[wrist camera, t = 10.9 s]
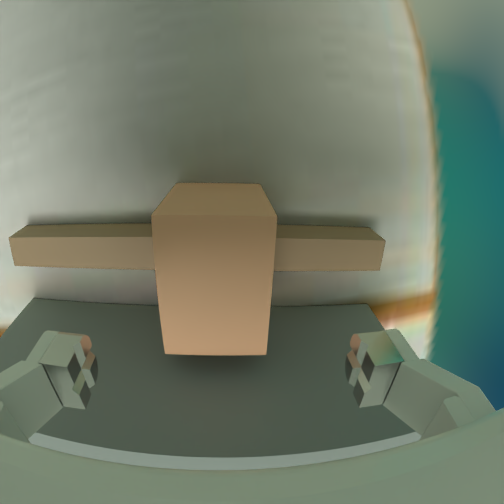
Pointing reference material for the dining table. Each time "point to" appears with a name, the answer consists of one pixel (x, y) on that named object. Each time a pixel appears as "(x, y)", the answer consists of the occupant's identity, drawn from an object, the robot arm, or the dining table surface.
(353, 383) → the robot arm
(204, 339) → the block
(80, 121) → the dining table surface
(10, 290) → the dining table surface
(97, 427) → the cleat board
